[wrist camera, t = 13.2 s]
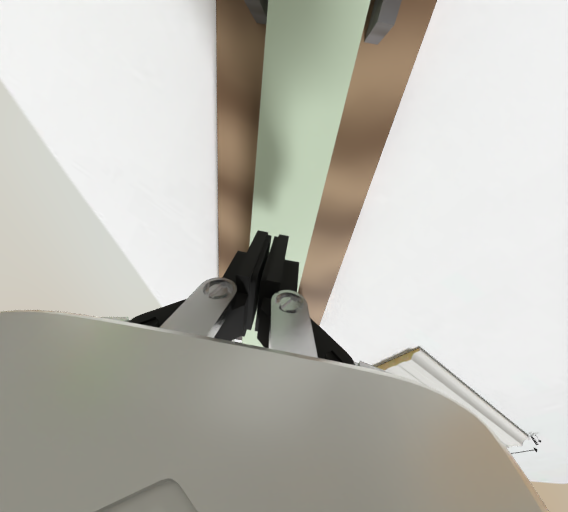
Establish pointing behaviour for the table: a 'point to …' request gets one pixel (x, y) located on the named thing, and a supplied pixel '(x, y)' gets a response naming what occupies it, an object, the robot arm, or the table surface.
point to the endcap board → (349, 142)
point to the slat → (301, 115)
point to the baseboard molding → (454, 393)
